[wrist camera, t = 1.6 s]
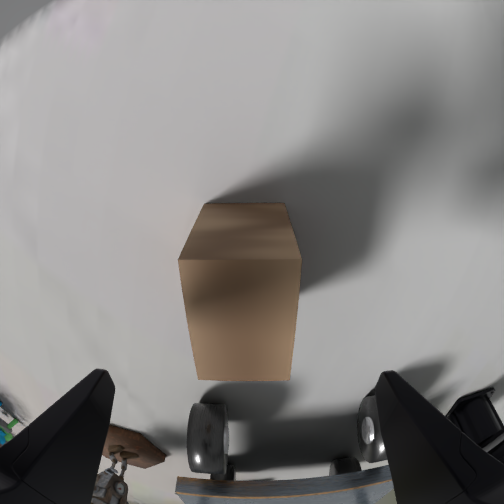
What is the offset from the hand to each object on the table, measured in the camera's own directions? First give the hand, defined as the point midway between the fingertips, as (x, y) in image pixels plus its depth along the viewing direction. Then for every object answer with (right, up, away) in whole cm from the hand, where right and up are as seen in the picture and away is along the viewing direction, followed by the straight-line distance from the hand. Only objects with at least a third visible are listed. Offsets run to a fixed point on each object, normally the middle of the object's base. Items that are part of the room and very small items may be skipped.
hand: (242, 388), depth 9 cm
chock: (0, +4, +8) cm, 9 cm away
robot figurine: (-15, -18, +19) cm, 30 cm away
